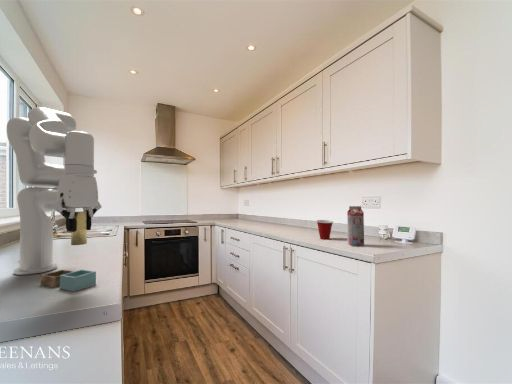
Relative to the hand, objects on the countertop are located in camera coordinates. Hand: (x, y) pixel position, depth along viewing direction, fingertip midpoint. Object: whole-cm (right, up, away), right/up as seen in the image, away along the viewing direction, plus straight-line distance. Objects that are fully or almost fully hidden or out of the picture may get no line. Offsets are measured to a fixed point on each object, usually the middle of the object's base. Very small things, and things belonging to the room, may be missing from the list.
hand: (79, 230), depth 79 cm
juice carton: (+111, -18, +64) cm, 130 cm away
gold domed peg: (0, -4, 0) cm, 4 cm away
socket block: (-9, -17, +3) cm, 20 cm away
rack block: (0, -17, 0) cm, 17 cm away
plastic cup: (+100, -19, +87) cm, 134 cm away
